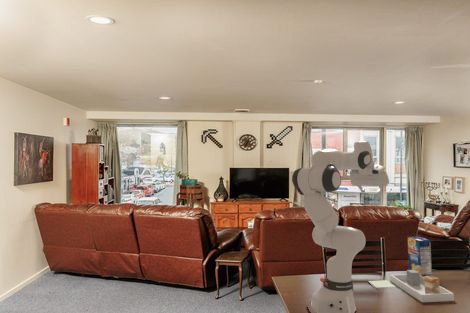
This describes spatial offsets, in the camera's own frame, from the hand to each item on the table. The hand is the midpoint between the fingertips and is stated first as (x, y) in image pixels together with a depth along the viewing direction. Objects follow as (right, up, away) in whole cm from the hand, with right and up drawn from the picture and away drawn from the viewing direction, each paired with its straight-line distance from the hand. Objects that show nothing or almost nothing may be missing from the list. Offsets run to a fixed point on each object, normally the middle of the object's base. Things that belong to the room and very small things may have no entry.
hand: (371, 192), depth 178 cm
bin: (+21, -51, -10) cm, 56 cm away
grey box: (+23, -50, -1) cm, 55 cm away
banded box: (+23, -50, -17) cm, 58 cm away
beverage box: (+36, -52, +16) cm, 65 cm away
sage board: (+6, -52, +1) cm, 52 cm away
